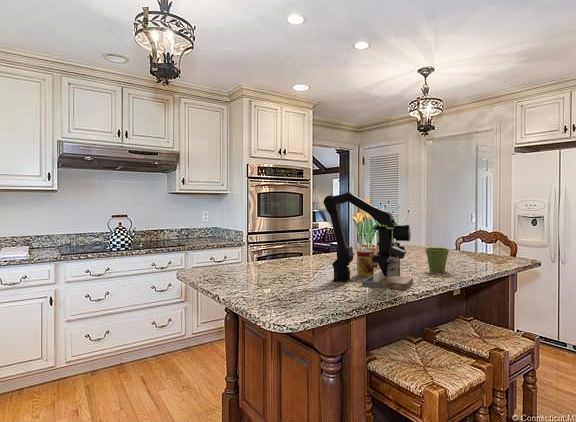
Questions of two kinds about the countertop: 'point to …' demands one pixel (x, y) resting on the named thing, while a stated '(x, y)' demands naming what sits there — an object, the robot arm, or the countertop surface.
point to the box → (371, 282)
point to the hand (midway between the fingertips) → (385, 276)
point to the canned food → (365, 263)
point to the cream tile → (378, 276)
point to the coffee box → (394, 264)
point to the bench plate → (397, 282)
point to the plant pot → (437, 258)
